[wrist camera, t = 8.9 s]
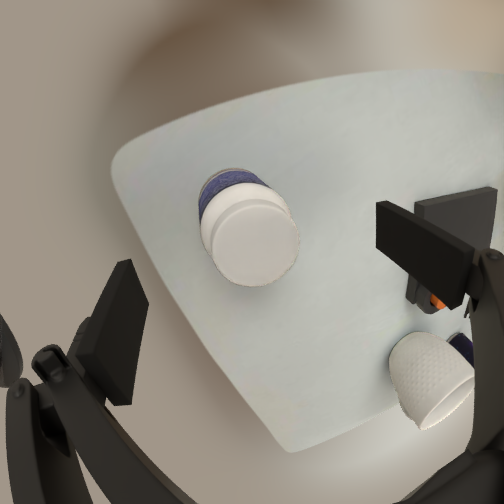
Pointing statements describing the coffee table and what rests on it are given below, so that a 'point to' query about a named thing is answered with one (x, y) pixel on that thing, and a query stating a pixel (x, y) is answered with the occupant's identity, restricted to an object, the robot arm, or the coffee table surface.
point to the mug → (429, 378)
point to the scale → (456, 228)
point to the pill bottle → (246, 228)
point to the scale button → (437, 302)
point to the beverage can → (463, 347)
